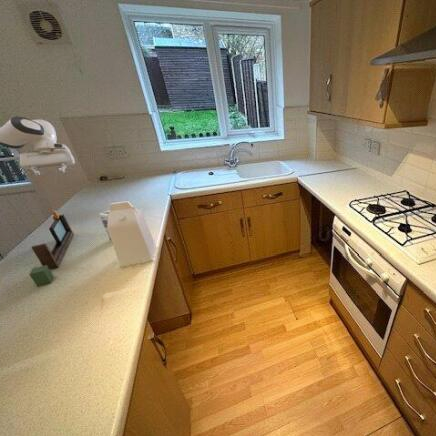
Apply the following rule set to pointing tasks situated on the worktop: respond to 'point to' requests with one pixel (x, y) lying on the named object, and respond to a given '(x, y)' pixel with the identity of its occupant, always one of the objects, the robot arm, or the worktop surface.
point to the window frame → (54, 248)
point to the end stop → (41, 275)
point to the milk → (130, 234)
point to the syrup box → (105, 221)
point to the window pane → (58, 228)
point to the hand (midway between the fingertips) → (50, 173)
